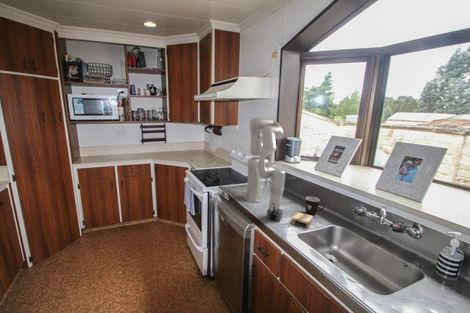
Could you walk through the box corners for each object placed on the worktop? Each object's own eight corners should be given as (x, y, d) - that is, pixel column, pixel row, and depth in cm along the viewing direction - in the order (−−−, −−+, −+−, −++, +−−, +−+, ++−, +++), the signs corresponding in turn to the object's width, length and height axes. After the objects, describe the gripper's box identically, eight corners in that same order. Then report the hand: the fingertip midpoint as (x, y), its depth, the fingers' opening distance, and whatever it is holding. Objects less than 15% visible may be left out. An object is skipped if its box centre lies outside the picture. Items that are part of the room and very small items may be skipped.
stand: (291, 223, 142) (292, 217, 141) (295, 217, 151) (296, 211, 150) (308, 228, 137) (309, 222, 137) (311, 222, 146) (312, 215, 145)
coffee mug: (301, 211, 161) (303, 197, 159) (311, 210, 164) (313, 196, 162) (312, 218, 151) (314, 203, 149) (323, 217, 154) (325, 202, 152)
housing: (266, 218, 147) (267, 208, 146) (269, 215, 152) (270, 205, 151) (278, 221, 143) (280, 212, 142) (281, 218, 148) (282, 208, 147)
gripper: (275, 185, 153) (273, 211, 157) (266, 192, 138) (263, 221, 142) (287, 187, 150) (284, 214, 153) (278, 195, 135) (275, 225, 138)
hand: (274, 217), depth 147 cm, fingers closed on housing, 5 cm apart
